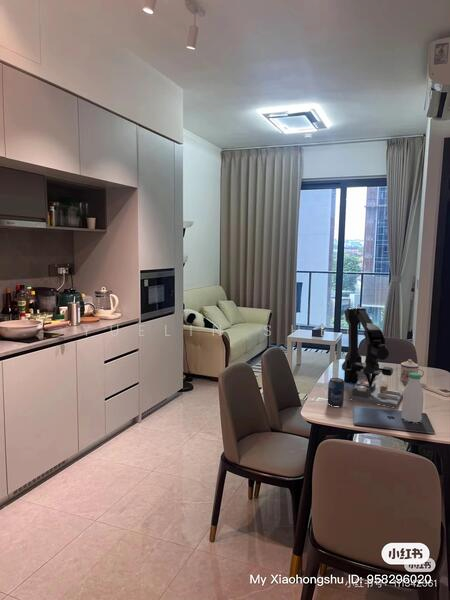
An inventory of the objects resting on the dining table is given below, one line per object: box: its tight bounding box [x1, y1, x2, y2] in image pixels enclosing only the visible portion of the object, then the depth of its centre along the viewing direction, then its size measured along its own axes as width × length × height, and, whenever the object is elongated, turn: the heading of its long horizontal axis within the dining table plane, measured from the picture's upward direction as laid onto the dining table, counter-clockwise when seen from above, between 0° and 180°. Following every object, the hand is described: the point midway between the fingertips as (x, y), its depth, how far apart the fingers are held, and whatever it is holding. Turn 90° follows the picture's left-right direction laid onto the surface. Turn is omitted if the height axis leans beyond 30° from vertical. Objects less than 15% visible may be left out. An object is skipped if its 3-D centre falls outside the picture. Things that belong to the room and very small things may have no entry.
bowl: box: [358, 355, 366, 377], centre depth 247 cm, size 16×16×9 cm
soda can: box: [327, 377, 345, 407], centre depth 195 cm, size 7×7×12 cm
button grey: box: [356, 385, 367, 392], centre depth 205 cm, size 4×4×2 cm
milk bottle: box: [401, 372, 424, 423], centre depth 178 cm, size 8×8×20 cm
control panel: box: [348, 379, 404, 409], centre depth 206 cm, size 21×20×4 cm
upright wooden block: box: [379, 382, 388, 394], centre depth 205 cm, size 2×5×4 cm, turn 150°
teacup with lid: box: [399, 359, 425, 383], centre depth 234 cm, size 12×9×12 cm
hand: (370, 386), depth 208 cm, fingers closed
